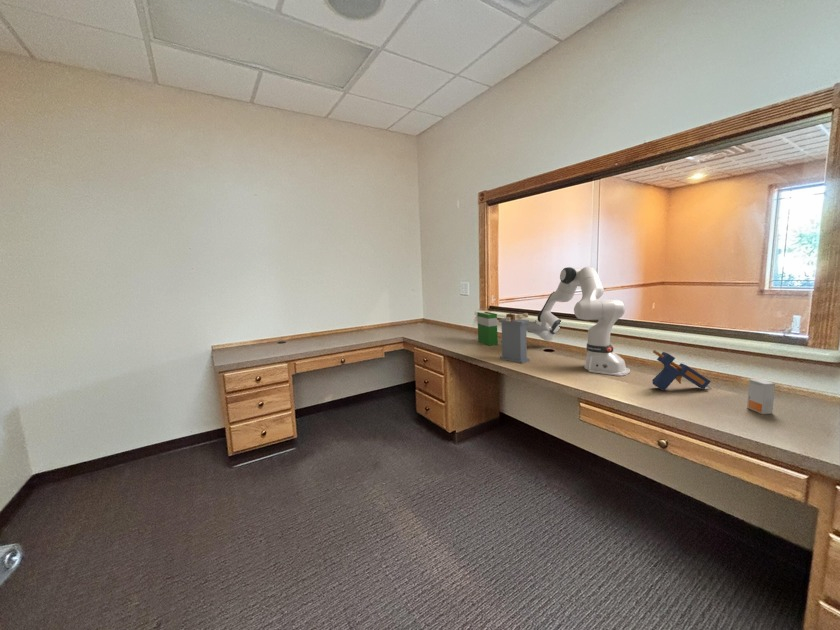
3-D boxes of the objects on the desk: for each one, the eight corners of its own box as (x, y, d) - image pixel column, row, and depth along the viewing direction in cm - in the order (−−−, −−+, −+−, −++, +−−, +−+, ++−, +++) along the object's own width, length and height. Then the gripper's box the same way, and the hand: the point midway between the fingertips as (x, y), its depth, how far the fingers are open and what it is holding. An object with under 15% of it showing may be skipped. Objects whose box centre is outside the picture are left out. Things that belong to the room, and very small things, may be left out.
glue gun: (695, 411, 157) (718, 386, 154) (641, 376, 155) (663, 349, 152) (685, 405, 163) (707, 380, 160) (633, 371, 161) (655, 345, 158)
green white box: (478, 341, 278) (477, 312, 275) (486, 340, 280) (485, 311, 277) (489, 346, 262) (488, 314, 258) (497, 344, 264) (496, 313, 261)
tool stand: (529, 360, 216) (529, 320, 213) (522, 363, 211) (521, 321, 208) (507, 356, 229) (506, 318, 226) (499, 358, 224) (498, 319, 221)
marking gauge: (523, 316, 227) (523, 309, 227) (529, 317, 224) (529, 309, 223) (504, 320, 215) (504, 313, 214) (511, 321, 211) (511, 313, 210)
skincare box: (746, 408, 135) (748, 378, 133) (756, 407, 135) (758, 378, 134) (762, 414, 129) (765, 384, 127) (773, 413, 129) (775, 383, 128)
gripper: (552, 334, 228) (542, 326, 220) (525, 331, 244) (515, 324, 236) (554, 325, 230) (544, 317, 221) (527, 323, 245) (517, 315, 237)
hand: (529, 321), depth 228 cm, fingers open, 8 cm apart
